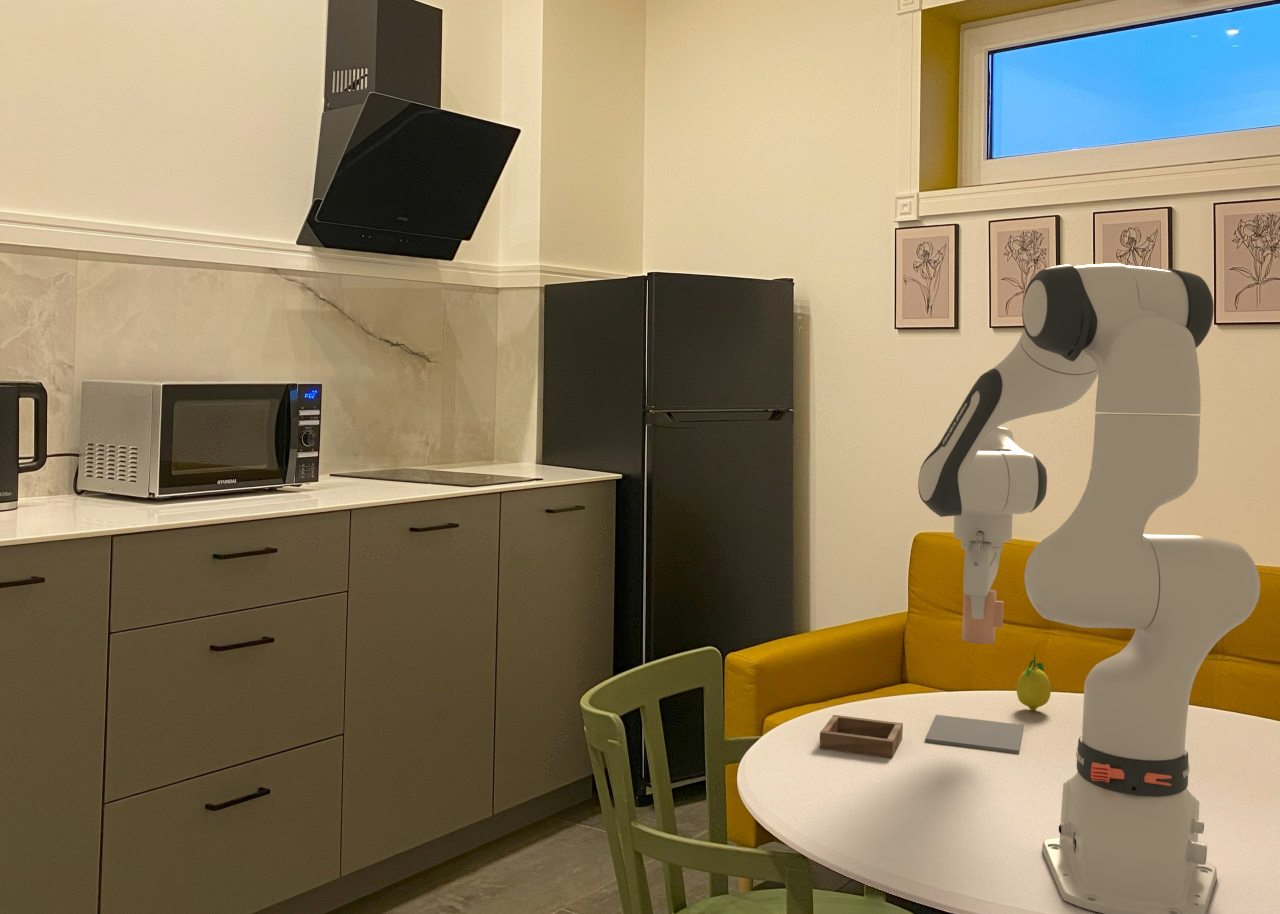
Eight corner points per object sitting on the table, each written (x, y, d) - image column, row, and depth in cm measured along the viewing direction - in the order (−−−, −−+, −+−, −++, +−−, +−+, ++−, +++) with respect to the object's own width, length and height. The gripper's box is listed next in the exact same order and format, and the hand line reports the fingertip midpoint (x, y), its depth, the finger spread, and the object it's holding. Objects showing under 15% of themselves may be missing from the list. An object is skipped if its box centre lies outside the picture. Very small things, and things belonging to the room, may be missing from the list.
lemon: (1025, 717, 193) (1027, 658, 192) (1006, 707, 198) (1008, 650, 198) (1060, 714, 194) (1062, 656, 194) (1040, 705, 200) (1042, 648, 199)
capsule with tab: (1000, 645, 178) (1002, 595, 177) (960, 641, 180) (962, 591, 179) (1002, 639, 182) (1004, 589, 182) (963, 635, 185) (965, 586, 184)
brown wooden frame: (892, 758, 170) (892, 741, 170) (819, 748, 174) (820, 732, 174) (902, 738, 180) (902, 723, 180) (833, 730, 184) (833, 714, 183)
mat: (1018, 753, 173) (1019, 750, 173) (924, 741, 178) (925, 738, 178) (1023, 727, 186) (1023, 724, 186) (935, 717, 191) (935, 714, 191)
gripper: (998, 537, 169) (995, 629, 170) (1007, 522, 188) (1004, 604, 189) (955, 534, 172) (952, 625, 173) (968, 519, 191) (965, 601, 192)
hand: (979, 614), depth 181 cm, fingers closed on capsule with tab, 5 cm apart
